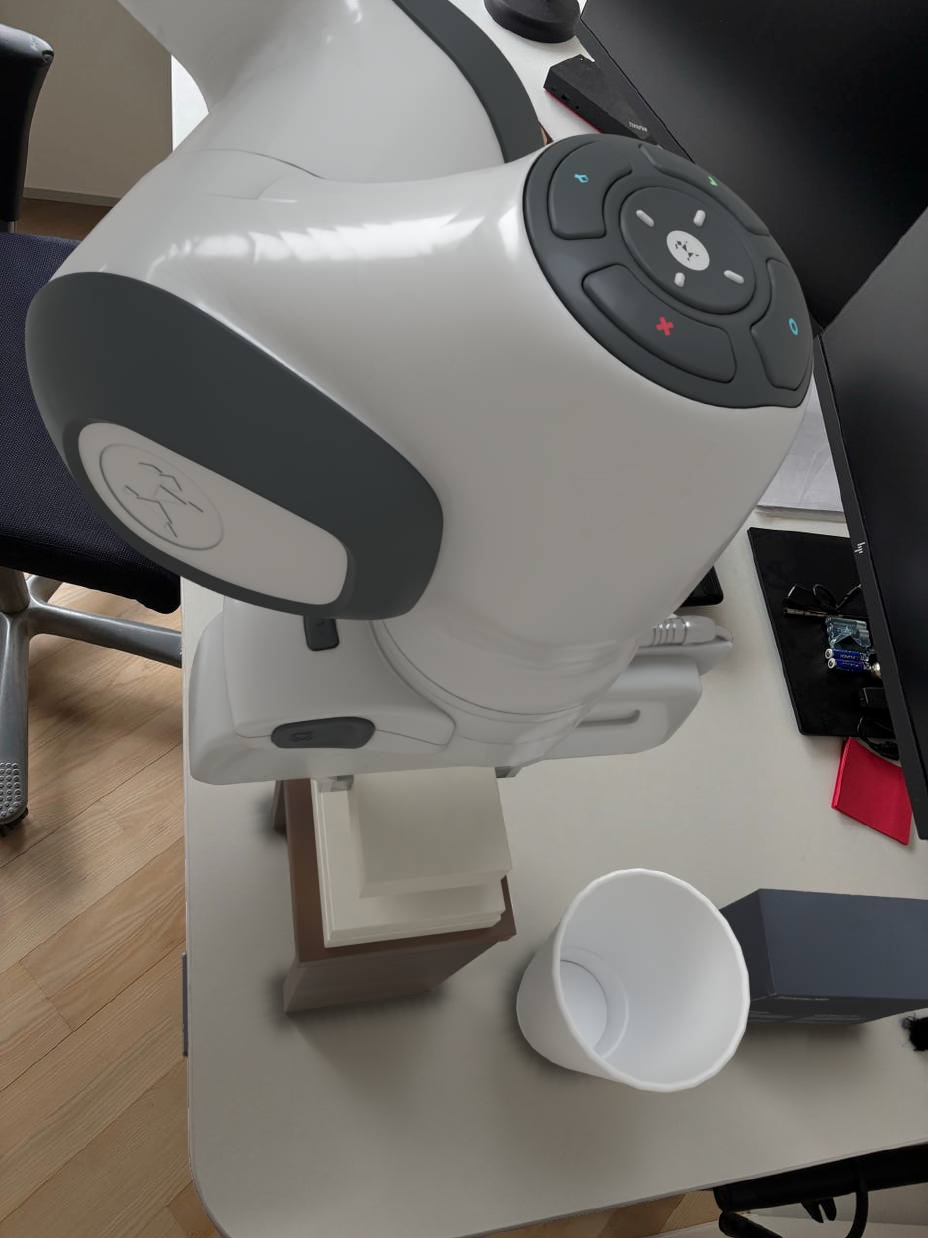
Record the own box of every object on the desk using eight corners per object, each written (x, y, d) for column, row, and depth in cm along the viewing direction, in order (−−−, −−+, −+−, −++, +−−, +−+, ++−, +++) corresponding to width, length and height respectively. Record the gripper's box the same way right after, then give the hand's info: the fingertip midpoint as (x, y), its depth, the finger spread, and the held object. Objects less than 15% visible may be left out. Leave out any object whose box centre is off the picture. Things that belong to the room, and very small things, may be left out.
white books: (303, 701, 50) (309, 673, 47) (453, 693, 52) (467, 665, 49) (324, 948, 44) (332, 934, 41) (492, 927, 46) (511, 912, 43)
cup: (542, 1142, 60) (635, 1141, 47) (450, 976, 64) (512, 931, 51) (673, 1041, 65) (792, 1014, 52) (581, 893, 69) (669, 832, 56)
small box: (835, 932, 72) (935, 897, 62) (853, 1026, 69) (962, 1006, 59) (681, 923, 70) (759, 886, 60) (691, 1021, 66) (776, 998, 56)
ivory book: (334, 673, 45) (340, 649, 43) (461, 668, 47) (472, 644, 45) (357, 899, 40) (365, 885, 38) (498, 883, 42) (513, 869, 40)
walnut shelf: (264, 808, 67) (279, 694, 50) (411, 795, 70) (472, 684, 53) (276, 1013, 60) (298, 963, 44) (438, 990, 63) (517, 934, 47)
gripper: (728, 550, 36) (603, 696, 47) (179, 555, 30) (190, 720, 42) (780, 698, 33) (632, 815, 44) (182, 734, 27) (193, 857, 39)
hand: (415, 769), depth 43 cm, fingers closed on ivory book, 6 cm apart
